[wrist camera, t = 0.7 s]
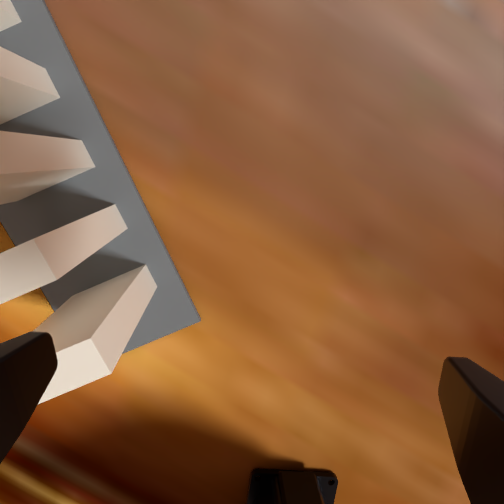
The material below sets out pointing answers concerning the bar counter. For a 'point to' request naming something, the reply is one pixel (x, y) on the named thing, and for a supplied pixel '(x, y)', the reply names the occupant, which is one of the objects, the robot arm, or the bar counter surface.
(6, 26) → the domino
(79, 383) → the domino
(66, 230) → the domino
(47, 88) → the domino
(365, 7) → the bar counter surface
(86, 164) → the domino
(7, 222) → the runner mat
